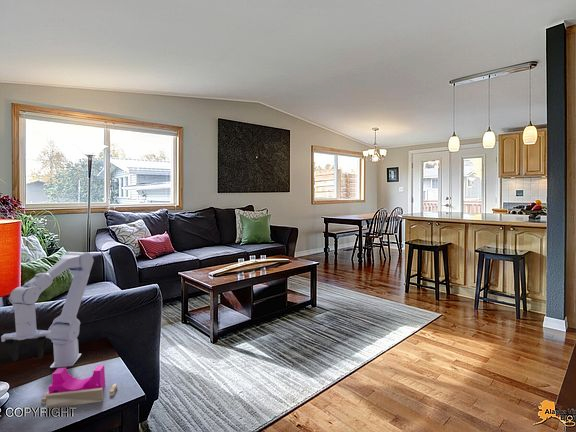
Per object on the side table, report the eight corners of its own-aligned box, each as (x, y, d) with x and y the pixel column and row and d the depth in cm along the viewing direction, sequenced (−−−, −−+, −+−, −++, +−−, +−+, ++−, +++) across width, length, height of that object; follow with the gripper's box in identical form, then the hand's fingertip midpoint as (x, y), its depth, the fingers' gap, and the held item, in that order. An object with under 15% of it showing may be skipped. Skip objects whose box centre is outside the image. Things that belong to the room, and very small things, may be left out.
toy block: (49, 399, 113) (47, 378, 113) (59, 388, 119) (57, 368, 119) (97, 396, 115) (96, 374, 115) (105, 385, 121) (104, 365, 121)
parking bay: (47, 395, 115) (47, 384, 115) (117, 387, 120) (116, 376, 119) (37, 409, 108) (36, 397, 108) (111, 400, 113) (110, 388, 112)
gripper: (-6, 327, 114) (-3, 366, 116) (43, 323, 117) (46, 361, 119) (6, 319, 121) (9, 356, 122) (53, 316, 124) (55, 352, 126)
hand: (28, 358), depth 121 cm, fingers open, 7 cm apart
